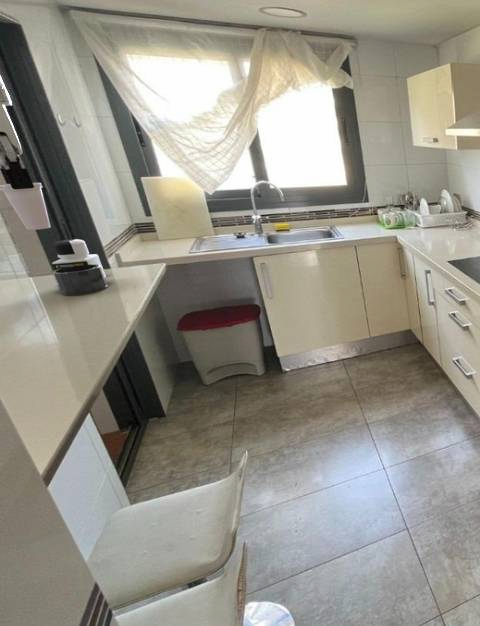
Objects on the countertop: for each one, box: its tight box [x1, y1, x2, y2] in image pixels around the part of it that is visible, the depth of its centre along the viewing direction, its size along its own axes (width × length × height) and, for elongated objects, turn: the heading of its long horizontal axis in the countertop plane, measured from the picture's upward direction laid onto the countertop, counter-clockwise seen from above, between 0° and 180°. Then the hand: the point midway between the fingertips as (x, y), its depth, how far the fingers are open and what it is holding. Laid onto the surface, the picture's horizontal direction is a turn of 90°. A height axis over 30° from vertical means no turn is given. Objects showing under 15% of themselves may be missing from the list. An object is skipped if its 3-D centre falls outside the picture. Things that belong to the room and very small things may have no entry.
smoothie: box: [0, 182, 52, 231], centre depth 101 cm, size 6×6×14 cm
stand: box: [51, 264, 109, 297], centre depth 120 cm, size 9×9×6 cm
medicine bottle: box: [51, 238, 107, 280], centre depth 125 cm, size 7×7×12 cm
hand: (21, 186), depth 100 cm, fingers closed on smoothie, 6 cm apart
